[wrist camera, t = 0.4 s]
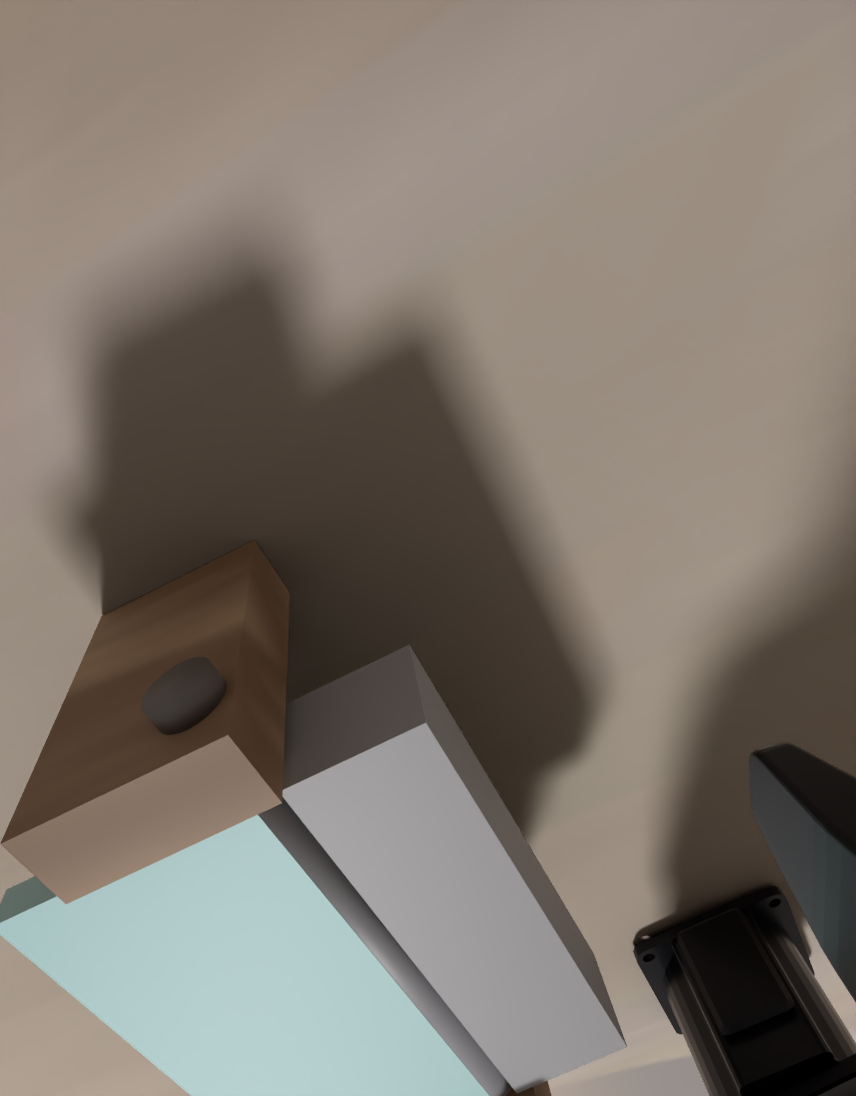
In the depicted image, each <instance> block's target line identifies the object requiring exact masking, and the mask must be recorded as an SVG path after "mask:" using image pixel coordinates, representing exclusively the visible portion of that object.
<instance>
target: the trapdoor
mask: <svg viewBox="0 0 856 1096" xmlns="http://www.w3.org/2000/svg"><path fill="white" fill-rule="evenodd" d="M0 935H1V936H2V937H3V938H5V939H6V940H7V941H8V942H9V943H10V944H12V945H13V946H14V947H15V948H16V949H18V950H19V951H20V952H21V953H22V954H24V955H25V956H26V957H27V958H28V959H29V960H31V961H32V962H33V963H34V964H35V965H37V966H38V967H39V968H40V969H41V970H42V971H44V972H45V973H46V974H47V975H48V976H50V977H51V978H52V979H53V980H54V981H56V982H57V983H58V984H59V985H60V986H61V987H63V988H64V989H65V990H66V991H67V992H69V993H70V994H71V995H72V996H73V997H75V998H76V999H77V1000H78V1001H79V1002H80V1003H82V1004H83V1005H84V1006H85V1007H86V1008H88V1009H89V1010H90V1011H91V1012H92V1013H93V1014H95V1015H96V1016H97V1017H98V1018H99V1019H101V1020H102V1021H103V1022H104V1023H105V1024H107V1025H108V1026H109V1027H110V1028H111V1029H112V1030H114V1031H115V1032H116V1033H117V1034H118V1035H120V1036H121V1037H122V1038H123V1039H124V1040H126V1041H127V1042H128V1043H129V1044H130V1045H131V1046H133V1047H134V1048H135V1049H136V1050H137V1051H139V1052H140V1053H141V1054H142V1055H143V1056H145V1057H146V1058H147V1059H148V1060H149V1061H150V1062H152V1063H153V1064H154V1065H155V1066H156V1067H158V1068H159V1069H160V1070H161V1071H162V1072H163V1073H165V1074H166V1075H167V1076H168V1077H169V1078H171V1079H172V1080H173V1081H174V1082H175V1083H177V1084H178V1085H179V1086H180V1087H181V1088H182V1089H184V1090H185V1091H186V1092H187V1093H188V1094H190V1095H191V1096H506V1095H507V1094H508V1093H509V1091H510V1089H511V1087H512V1088H513V1089H514V1090H515V1092H516V1093H519V1092H522V1091H524V1090H527V1089H529V1088H531V1087H534V1086H536V1085H538V1084H541V1083H543V1082H545V1081H548V1080H550V1079H552V1078H555V1077H557V1076H559V1075H562V1074H564V1073H567V1072H569V1071H571V1070H574V1069H576V1068H578V1067H581V1066H583V1065H585V1064H588V1063H590V1062H592V1061H595V1060H597V1059H599V1058H602V1057H604V1056H607V1055H609V1054H611V1053H614V1052H616V1051H618V1050H621V1049H623V1048H625V1047H627V1045H626V1042H625V1039H624V1037H623V1034H622V1031H621V1028H620V1026H619V1023H618V1020H617V1017H616V1015H615V1012H614V1009H613V1006H612V1003H611V1001H610V998H609V995H608V992H607V990H606V987H605V984H604V981H603V978H602V976H601V973H600V970H599V967H598V965H597V962H596V959H595V956H594V954H593V952H592V950H591V948H590V947H589V945H588V943H587V942H586V940H585V938H584V937H583V935H582V933H581V932H580V930H579V928H578V927H577V925H576V923H575V922H574V920H573V918H572V917H571V915H570V913H569V912H568V910H567V908H566V907H565V905H564V903H563V902H562V900H561V898H560V896H559V895H558V893H557V891H556V890H555V888H554V886H553V885H552V883H551V881H550V880H549V878H548V876H547V875H546V873H545V871H544V870H543V868H542V866H541V865H540V863H539V861H538V860H537V858H536V856H535V855H534V853H533V851H532V849H531V848H530V846H529V844H528V843H527V841H526V839H525V838H524V836H523V834H522V833H521V831H520V829H519V828H518V826H517V824H516V823H515V821H514V819H513V818H512V816H511V814H510V813H509V811H508V809H507V808H506V806H505V804H504V803H503V801H502V799H501V797H500V796H499V794H498V792H497V791H496V789H495V787H494V786H493V784H492V782H491V781H490V779H489V777H488V776H487V774H486V772H485V771H484V769H483V767H482V766H481V764H480V762H479V761H478V759H477V757H476V756H475V754H474V752H473V751H472V749H471V747H470V745H469V744H468V742H467V740H466V739H465V737H464V735H463V734H462V732H461V730H460V729H459V727H458V725H457V724H456V722H455V720H454V719H453V717H452V715H451V714H450V712H449V710H448V709H447V707H446V705H445V704H444V702H443V700H442V698H441V697H440V695H439V693H438V692H437V690H436V688H435V687H434V685H433V683H432V682H431V680H430V678H429V677H428V675H427V673H426V672H425V670H424V668H423V667H422V665H421V663H420V662H419V660H418V658H417V657H416V655H415V653H414V652H413V650H412V648H411V646H410V645H407V646H405V647H403V648H401V649H399V650H397V651H395V652H393V653H390V654H388V655H386V656H384V657H382V658H380V659H378V660H376V661H374V662H372V663H370V664H368V665H365V666H363V667H361V668H359V669H357V670H355V671H353V672H351V673H349V674H347V675H345V676H343V677H340V678H338V679H336V680H334V681H332V682H330V683H328V684H326V685H324V686H322V687H320V688H318V689H315V690H313V691H311V692H309V693H307V694H305V695H303V696H301V697H299V698H297V699H295V700H293V701H290V702H288V703H286V715H285V742H284V769H283V796H282V803H281V804H279V805H277V806H275V807H273V808H271V809H269V810H266V811H264V812H262V813H260V814H258V815H256V816H254V817H251V818H249V819H247V820H245V821H243V822H241V823H239V824H237V825H234V826H232V827H230V828H228V829H226V830H224V831H222V832H220V833H217V834H215V835H213V836H211V837H209V838H207V839H205V840H202V841H200V842H198V843H196V844H194V845H192V846H190V847H188V848H185V849H183V850H181V851H179V852H177V853H175V854H173V855H170V856H168V857H166V858H164V859H162V860H160V861H158V862H156V863H153V864H151V865H149V866H147V867H145V868H143V869H141V870H138V871H136V872H134V873H132V874H130V875H128V876H126V877H124V878H121V879H119V880H117V881H115V882H113V883H111V884H109V885H107V886H104V887H102V888H100V889H98V890H96V891H94V892H92V893H89V894H87V895H85V896H83V897H81V898H79V899H77V900H75V901H72V902H70V903H68V904H65V903H64V902H63V901H62V900H61V899H59V898H58V897H57V896H56V895H55V894H54V893H53V892H52V891H51V890H50V889H49V888H47V887H46V886H45V885H44V884H43V883H42V882H41V881H40V880H39V879H38V878H37V877H36V876H35V877H33V878H30V879H28V880H26V881H24V882H22V883H20V884H18V885H16V886H14V887H11V888H9V889H7V890H6V892H5V895H4V897H3V899H2V902H1V904H0Z"/></svg>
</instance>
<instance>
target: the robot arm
mask: <svg viewBox="0 0 856 1096" xmlns="http://www.w3.org/2000/svg"><path fill="white" fill-rule="evenodd" d="M749 766H750V794H751V806H752V810H753V814H754V817H755V819H756V822H757V824H758V826H759V828H760V830H761V832H762V834H763V836H764V838H765V839H766V841H767V843H768V845H769V847H770V849H771V851H772V853H773V855H774V857H775V859H776V861H777V863H778V865H779V867H780V869H781V871H782V873H783V875H784V877H785V878H786V880H787V882H788V884H789V886H790V888H791V890H792V892H793V894H794V896H795V898H796V900H797V902H798V904H799V906H800V908H801V910H802V912H803V914H804V916H805V917H806V919H807V921H808V923H809V925H810V927H811V929H812V931H813V933H814V935H815V937H816V939H817V940H818V942H819V944H820V946H821V948H822V950H823V951H824V953H825V955H826V956H827V958H828V960H829V961H830V963H831V964H832V966H833V968H834V969H835V971H836V973H837V974H838V976H839V977H840V979H841V980H842V982H843V983H844V985H845V987H846V988H847V990H848V991H849V993H850V994H851V996H852V997H853V999H854V1000H855V1002H856V778H855V777H853V776H852V775H850V774H848V773H846V772H844V771H842V770H840V769H838V768H837V767H835V766H833V765H831V764H829V763H827V762H825V761H823V760H822V759H820V758H818V757H816V756H814V755H812V754H810V753H808V752H807V751H805V750H803V749H801V748H799V747H797V746H795V745H793V744H791V743H787V742H780V743H776V744H772V745H768V746H765V747H761V748H757V749H755V750H753V751H752V752H751V754H750V759H749ZM633 952H634V955H635V958H636V960H637V963H638V964H639V966H640V968H641V970H642V972H643V973H644V975H645V977H646V979H647V981H648V982H649V984H650V986H651V988H652V990H653V991H654V993H655V995H656V997H657V999H658V1000H659V1002H660V1004H661V1006H662V1008H663V1009H664V1011H665V1013H666V1015H667V1017H668V1018H669V1020H670V1022H671V1024H672V1026H673V1027H674V1029H675V1031H676V1032H677V1033H678V1034H683V1035H684V1038H685V1040H686V1042H687V1045H688V1047H689V1049H690V1052H691V1054H692V1056H693V1059H694V1061H695V1063H696V1066H697V1068H698V1070H699V1072H700V1075H701V1077H702V1080H703V1082H704V1084H705V1086H706V1089H707V1091H708V1093H709V1096H856V1043H855V1041H854V1040H853V1038H852V1036H851V1035H850V1033H849V1032H848V1030H847V1028H846V1027H845V1025H844V1023H843V1022H842V1020H841V1019H840V1017H839V1015H838V1014H837V1012H836V1011H835V1009H834V1007H833V1006H832V1004H831V1002H830V1001H829V999H828V998H827V996H826V994H825V993H824V991H823V990H822V988H821V986H820V985H819V983H818V982H817V980H816V978H815V977H814V971H813V968H812V965H811V963H810V960H809V957H808V955H807V952H806V949H805V947H804V944H803V941H802V939H801V936H800V933H799V931H798V928H797V925H796V923H795V920H794V917H793V915H792V912H791V909H790V907H789V904H788V901H787V899H786V897H785V895H784V894H783V892H782V891H781V889H780V888H779V887H776V886H771V887H767V888H765V889H763V890H760V891H758V892H756V893H753V894H751V895H749V896H746V897H744V898H742V899H740V900H737V901H735V902H733V903H730V904H728V905H726V906H724V907H721V908H719V909H717V910H714V911H712V912H710V913H707V914H705V915H703V916H701V917H698V918H696V919H694V920H691V921H689V922H687V923H685V924H682V925H680V926H678V927H675V928H673V929H671V930H668V931H666V932H664V933H662V934H659V935H657V936H655V937H652V938H650V939H648V940H645V941H643V942H641V943H639V944H638V945H637V946H636V947H635V948H634V951H633Z"/></svg>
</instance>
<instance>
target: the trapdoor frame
mask: <svg viewBox="0 0 856 1096" xmlns="http://www.w3.org/2000/svg"><path fill="white" fill-rule="evenodd" d="M289 608H290V593H289V591H288V590H287V588H286V587H285V585H284V584H283V582H282V581H281V579H280V578H279V576H278V575H277V573H276V572H275V570H274V569H273V567H272V566H271V564H270V563H269V561H268V560H267V558H266V557H265V555H264V554H263V552H262V551H261V549H260V548H259V546H258V545H257V543H256V542H255V540H253V541H251V542H249V543H247V544H245V545H243V546H241V547H239V548H237V549H235V550H233V551H231V552H229V553H227V554H225V555H223V556H221V557H219V558H217V559H215V560H213V561H211V562H209V563H207V564H205V565H203V566H201V567H199V568H197V569H195V570H193V571H191V572H189V573H187V574H185V575H183V576H181V577H179V578H177V579H175V580H173V581H171V582H169V583H167V584H165V585H163V586H161V587H159V588H157V589H155V590H153V591H151V592H149V593H147V594H145V595H143V596H141V597H139V598H137V599H135V600H133V601H131V602H129V603H127V604H125V605H123V606H121V607H119V608H117V609H115V610H113V611H111V612H109V613H107V614H105V615H103V616H102V617H101V619H100V621H99V624H98V626H97V628H96V630H95V633H94V635H93V637H92V639H91V642H90V644H89V646H88V648H87V651H86V653H85V655H84V657H83V660H82V662H81V664H80V666H79V669H78V671H77V673H76V675H75V678H74V680H73V682H72V684H71V687H70V689H69V691H68V693H67V696H66V698H65V700H64V702H63V704H62V707H61V709H60V711H59V713H58V716H57V718H56V720H55V722H54V725H53V727H52V729H51V731H50V734H49V736H48V738H47V740H46V743H45V745H44V747H43V749H42V752H41V754H40V756H39V758H38V761H37V763H36V765H35V767H34V770H33V772H32V774H31V776H30V779H29V781H28V783H27V785H26V788H25V790H24V792H23V794H22V797H21V799H20V801H19V803H18V806H17V808H16V810H15V812H14V815H13V817H12V819H11V821H10V823H9V826H8V828H7V830H6V832H5V835H4V837H3V839H2V841H1V845H2V846H3V847H4V848H5V849H6V850H7V851H8V852H9V853H11V854H12V855H13V856H14V857H15V858H16V859H17V860H18V861H19V862H20V863H21V864H23V865H24V866H25V867H26V868H27V869H28V870H29V871H30V872H31V873H32V874H33V875H34V876H36V877H37V878H38V879H39V880H40V881H41V882H42V883H43V884H44V885H45V886H46V887H47V888H49V889H50V890H51V891H52V892H53V893H54V894H55V895H56V896H57V897H58V898H59V899H61V900H62V901H63V902H64V903H65V904H68V903H70V902H72V901H75V900H77V899H79V898H81V897H83V896H85V895H87V894H89V893H92V892H94V891H96V890H98V889H100V888H102V887H104V886H107V885H109V884H111V883H113V882H115V881H117V880H119V879H121V878H124V877H126V876H128V875H130V874H132V873H134V872H136V871H138V870H141V869H143V868H145V867H147V866H149V865H151V864H153V863H156V862H158V861H160V860H162V859H164V858H166V857H168V856H170V855H173V854H175V853H177V852H179V851H181V850H183V849H185V848H188V847H190V846H192V845H194V844H196V843H198V842H200V841H202V840H205V839H207V838H209V837H211V836H213V835H215V834H217V833H220V832H222V831H224V830H226V829H228V828H230V827H232V826H234V825H237V824H239V823H241V822H243V821H245V820H247V819H249V818H251V817H254V816H256V815H258V814H260V813H262V812H264V811H266V810H269V809H271V808H273V807H275V806H277V805H279V804H281V803H282V796H283V769H284V742H285V715H286V688H287V661H288V634H289ZM506 1096H551V1093H550V1089H549V1085H548V1081H545V1082H543V1083H541V1084H538V1085H536V1086H534V1087H531V1088H529V1089H527V1090H524V1091H522V1092H519V1093H516V1092H515V1090H514V1089H513V1088H512V1087H511V1089H510V1091H509V1093H508V1094H507V1095H506Z"/></svg>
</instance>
